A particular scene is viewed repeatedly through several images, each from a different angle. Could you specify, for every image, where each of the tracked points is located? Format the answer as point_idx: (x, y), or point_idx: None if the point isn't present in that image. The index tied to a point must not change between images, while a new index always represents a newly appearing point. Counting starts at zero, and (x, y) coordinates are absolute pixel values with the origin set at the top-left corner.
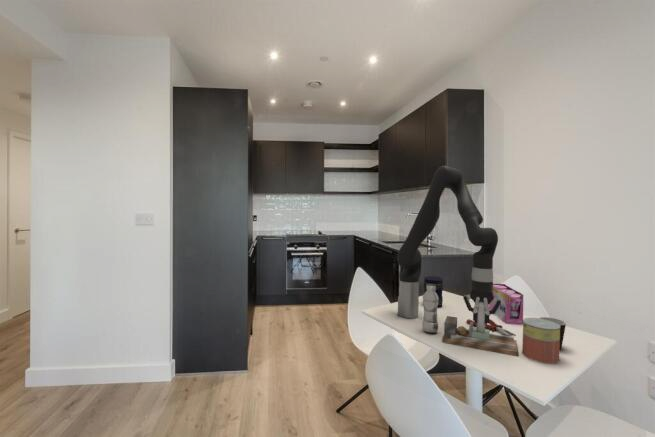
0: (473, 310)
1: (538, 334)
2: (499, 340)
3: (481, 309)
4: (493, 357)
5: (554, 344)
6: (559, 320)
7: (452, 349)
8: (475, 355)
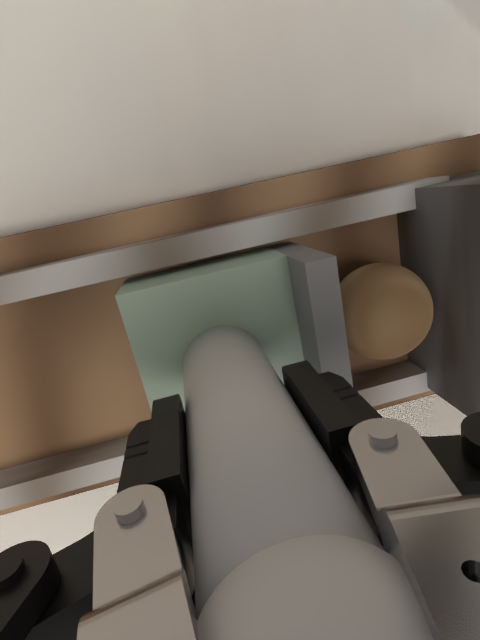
0: (424, 442)
1: None
2: (85, 423)
3: (274, 519)
4: (35, 88)
5: None
6: None
7: (366, 31)
8: (173, 24)
